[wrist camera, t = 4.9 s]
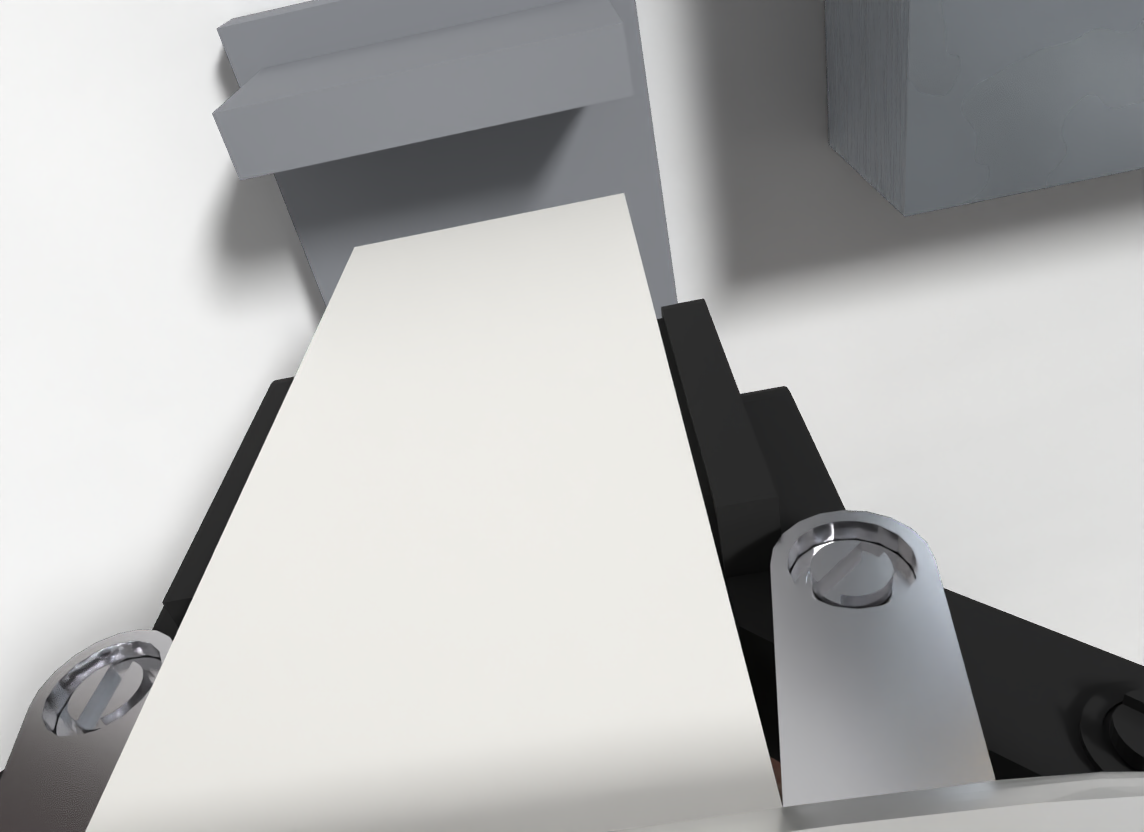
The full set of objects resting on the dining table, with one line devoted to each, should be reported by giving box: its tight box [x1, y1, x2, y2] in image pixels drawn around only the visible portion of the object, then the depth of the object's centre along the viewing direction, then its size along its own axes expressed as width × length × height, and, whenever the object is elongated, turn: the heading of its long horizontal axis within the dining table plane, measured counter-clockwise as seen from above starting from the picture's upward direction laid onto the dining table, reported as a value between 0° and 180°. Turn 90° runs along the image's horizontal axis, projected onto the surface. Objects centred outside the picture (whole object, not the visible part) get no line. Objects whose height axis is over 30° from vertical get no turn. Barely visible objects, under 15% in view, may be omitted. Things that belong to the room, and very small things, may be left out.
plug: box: [85, 193, 782, 832], centre depth 9 cm, size 4×4×12 cm
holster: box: [212, 0, 678, 319], centre depth 16 cm, size 9×7×4 cm
